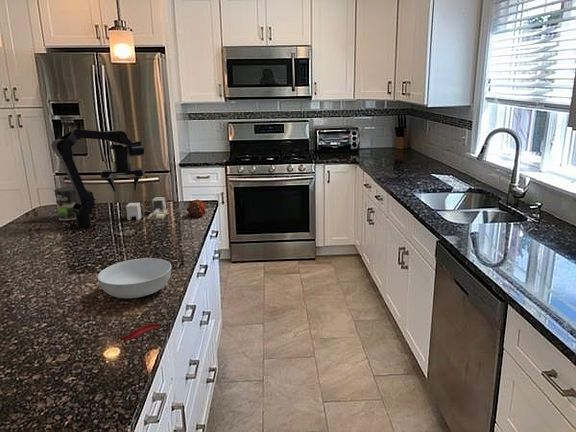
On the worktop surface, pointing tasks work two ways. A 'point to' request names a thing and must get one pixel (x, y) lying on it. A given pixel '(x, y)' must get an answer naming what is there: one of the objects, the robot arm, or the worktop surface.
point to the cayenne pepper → (140, 331)
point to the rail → (160, 217)
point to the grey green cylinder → (65, 203)
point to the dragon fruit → (197, 208)
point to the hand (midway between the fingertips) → (125, 191)
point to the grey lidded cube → (133, 210)
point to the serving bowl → (135, 277)
